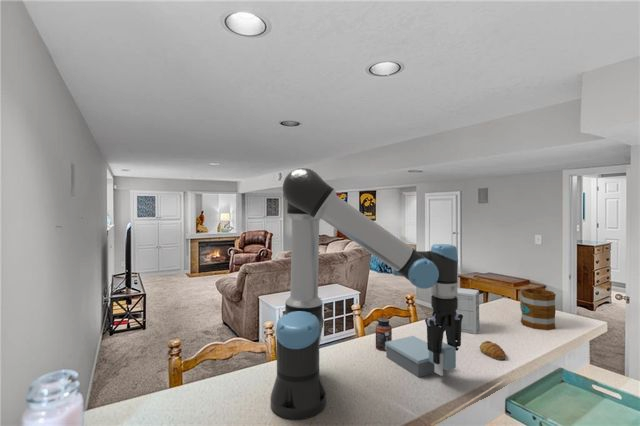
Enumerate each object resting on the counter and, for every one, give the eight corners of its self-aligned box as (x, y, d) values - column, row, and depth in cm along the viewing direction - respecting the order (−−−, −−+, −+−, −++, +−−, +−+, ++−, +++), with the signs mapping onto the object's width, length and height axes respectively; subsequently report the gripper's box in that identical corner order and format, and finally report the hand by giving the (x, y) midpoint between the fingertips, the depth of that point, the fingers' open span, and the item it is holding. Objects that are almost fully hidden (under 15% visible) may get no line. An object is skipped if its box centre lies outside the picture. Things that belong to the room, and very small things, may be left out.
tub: (418, 379, 106) (418, 363, 106) (386, 359, 120) (386, 344, 120) (446, 371, 111) (446, 355, 111) (413, 352, 126) (413, 338, 126)
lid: (435, 373, 99) (434, 353, 99) (385, 344, 120) (385, 327, 120) (465, 364, 105) (465, 345, 105) (413, 338, 126) (413, 322, 126)
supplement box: (480, 328, 150) (480, 289, 150) (476, 334, 143) (476, 294, 142) (457, 324, 156) (456, 287, 155) (452, 330, 148) (452, 291, 147)
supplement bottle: (391, 353, 125) (391, 322, 125) (375, 352, 126) (375, 321, 126) (391, 347, 131) (391, 317, 131) (375, 345, 132) (375, 316, 132)
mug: (563, 330, 147) (563, 295, 147) (531, 330, 147) (531, 295, 147) (535, 315, 167) (535, 285, 166) (507, 315, 167) (507, 285, 167)
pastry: (511, 360, 119) (511, 349, 119) (494, 362, 118) (493, 351, 118) (493, 349, 128) (493, 339, 128) (477, 351, 127) (477, 340, 127)
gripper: (432, 302, 97) (432, 384, 97) (474, 294, 104) (474, 371, 105) (414, 296, 103) (414, 372, 104) (454, 289, 111) (454, 361, 111)
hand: (444, 371), depth 104 cm, fingers closed on lid, 4 cm apart
